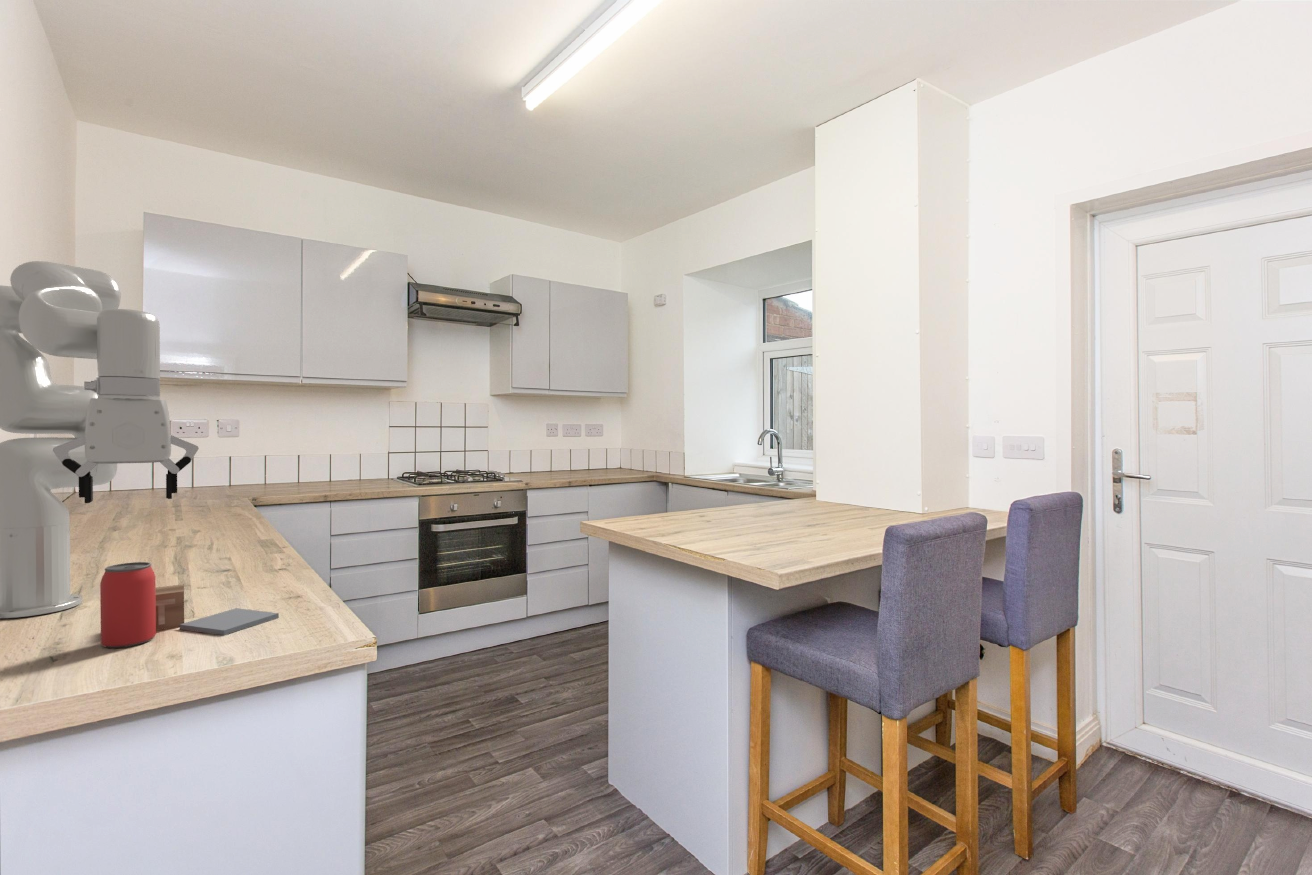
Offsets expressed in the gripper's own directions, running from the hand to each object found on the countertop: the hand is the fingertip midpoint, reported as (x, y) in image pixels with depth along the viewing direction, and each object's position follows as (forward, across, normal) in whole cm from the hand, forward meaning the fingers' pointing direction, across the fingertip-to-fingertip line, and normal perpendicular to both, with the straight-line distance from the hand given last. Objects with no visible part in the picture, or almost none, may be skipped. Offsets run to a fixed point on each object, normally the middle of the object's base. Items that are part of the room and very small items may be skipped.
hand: (130, 500), depth 98 cm
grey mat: (+22, +13, +2) cm, 26 cm away
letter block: (+22, +4, +8) cm, 24 cm away
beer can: (+22, 0, 0) cm, 22 cm away
